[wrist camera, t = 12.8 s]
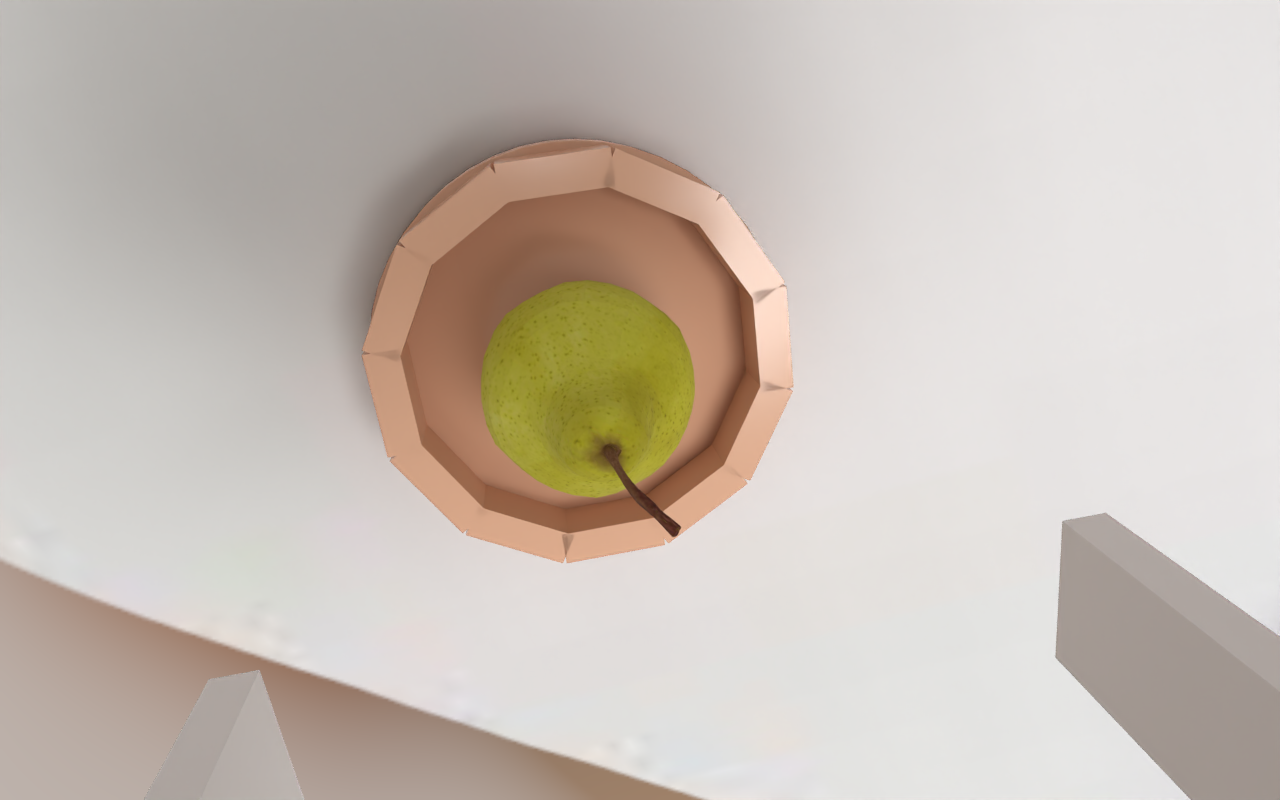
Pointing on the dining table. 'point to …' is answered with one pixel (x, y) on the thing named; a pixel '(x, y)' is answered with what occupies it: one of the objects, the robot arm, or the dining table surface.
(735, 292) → the dish
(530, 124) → the dining table surface
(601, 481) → the fruit
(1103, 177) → the dining table surface
